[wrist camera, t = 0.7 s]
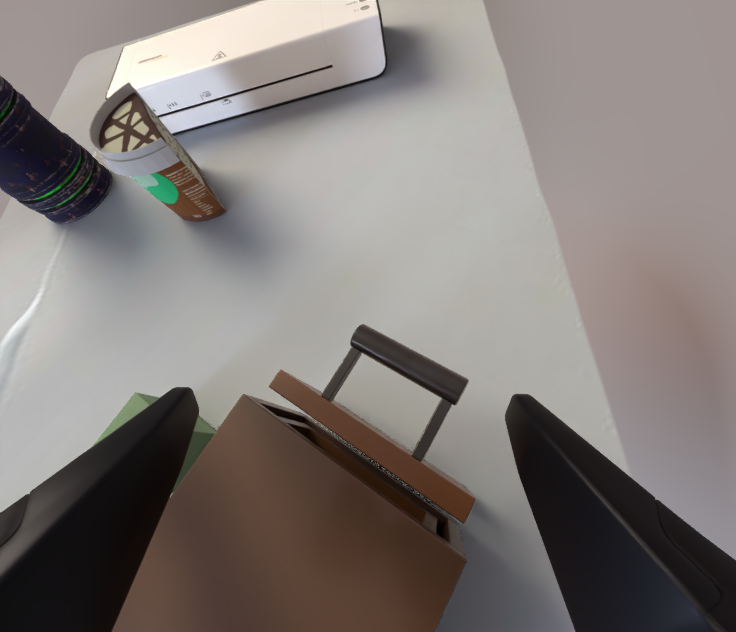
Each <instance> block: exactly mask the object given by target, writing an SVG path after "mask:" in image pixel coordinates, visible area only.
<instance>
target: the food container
mask: <svg viewBox="0 0 736 632" xmlns="http://www.w3.org/2000/svg"><path fill="white" fill-rule="evenodd" d="M89 137H90V141H91V143H92V145H93V146H94V149H95V151H96V152H97V154H98V155H99V157H100V158H101V159H102V160H103V162H104V163H105V164H106V165H107V167H108V168H109V169H110V170H111V171H112V172H114V173H116V174H118V175H122V176H128V177H131V178H132V179H134V180H135V181H136V182H137V183H139V184H140V185H141V186H142V187H144V188H145V189H146V190H147V191H149V192H150V193H151V194H152V195H154V196H155V197H156V198H158V199H159V200H160V201H161V202H163V203H164V204H165V205H166V206H168V207H169V208H170V209H171V210H173V211H174V212H175V213H176V214H178V215H179V216H180V217H181V218H183V219H185V220H188V221H194V222H199V221H206V220H210V219H213V218H215V217H217V216H219V215H221V214H223V213H225V212H226V209H225V208H224V206H223V205H222V203H221V201H220V200H219V198H218V197H217V195H216V193H215V192H214V190H213V189H212V187H211V185H210V184H209V182H208V181H207V179H206V178H205V176H204V174H203V173H202V171H201V170H200V168H199V167H198V165H197V164H196V163H195V162H194V161H193V159H192V158H191V157H190V156H189V154H188V153H187V152H186V151H185V150H184V148H183V147H182V146H181V145H180V144H179V142H178V141H177V140H176V139H175V137H174V136H173V135H172V134H171V133H170V131H169V130H168V129H167V128H166V127H165V125H164V124H163V123H162V122H161V120H160V119H159V118H158V117H157V116H156V114H155V113H154V112H153V111H152V109H151V108H150V107H149V106H148V105H147V103H146V102H145V100H144V99H143V98H142V97H141V95H140V94H139V93H138V92H137V91H136V90H135V88H133V86H132V85H131V84H130V83H129V82H128V83H127V84H125V85H123V86H122V87H121V88H119V89H118V90H117V91H116V92H114V93H113V94H112V95H111V96H110V97H109V98H108V99H107V100H106V101H105V102H104V103H103V104H102V106H101V107H100V108H99V110H98V111H97V113H96V114H95V116H94V118H93V120H92V123H91V126H90V130H89Z"/></svg>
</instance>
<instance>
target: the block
mask: <svg viewBox="0 0 736 632" xmlns="http://www.w3.org/2000/svg"><path fill="white" fill-rule="evenodd" d="M158 399H159V398H158V397H154V396H149V395H144V394H140V393H135V394H134V395H133V396H132V397H131V399H130V400H129V401H128V402H127V404H126V405H125V406H124V407H123V409H122V410H121V411H120V412H119V414H118V415H117V416H116V418H115V419H114V420H113V421H112V423H111V424H110V425H109V426H108V428H107V429H106V430H105V431H104V433H103V434H102V435H101V437H100V438H99V439H98V440H97V442H96V443H95V444H94V445H96V444H97V443H98V442H100V441H101V440H102V439H104V438H105V437H107V436H108V435H109V434H111V433H112V432H113V431H115V430H116V429H118V428H119V427H120V426H122V425H123V424H125V423H126V422H127V421H129V420H130V419H131V418H133V417H134V416H136V415H137V414H138V413H140V412H141V411H143V410H144V409H145V408H147V407H148V406H149V405H151V404H152V403H154V402H155V401H156V400H158ZM216 432H217V431H216V430H214V429H213V428H212V427H211V426H210V425H208V424H207V423H206V422H205V421H204V420H202V419H201V418H200V417H199V416H198V418H197V422H196V425H195V428H194V431H193V435H192V438H191V441H190V444H189V448H188V451H187V454H186V457H185V461H184V463H183V466H182V469H181V472H180V474H179V477H178V479H177V481H176V484H175V486H174V488H173V491H172V492H174V491H175V490H176V488H177V487H178V486H179V484H180V483H181V481H182V480H183V478H184V477H185V476H186V474H187V473H188V471H189V470H190V469H191V467H192V466H193V464H194V463H195V461H196V460H197V459H198V457H199V456H200V454H201V453H202V451H203V450H204V449H205V447H206V446H207V444H208V443H209V442H210V440H211V439H212V437H213V436H214V434H215V433H216ZM94 445H93V446H94Z"/></svg>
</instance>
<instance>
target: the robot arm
mask: <svg viewBox="0 0 736 632" xmlns="http://www.w3.org/2000/svg"><path fill="white" fill-rule="evenodd" d="M198 415H199V407H198V404H197V401H196V398H195V395H194V393H193V390H192V389H191V388H189V387H176V388H173V389H172V390H170V391H169V392H167V393H166V394H165V395H163V396H162V397H160V398H159V399H158V400H156V401H155V402H154V403H152V404H151V405H149V406H148V407H147V408H145V409H144V410H143V411H141V412H140V413H138V414H137V415H136V416H134V417H133V418H131V419H130V420H129V421H127V422H126V423H125V424H123V425H122V426H120V427H119V428H118V429H116V430H115V431H113V432H112V433H111V434H109V435H108V436H107V437H105V438H104V439H102V440H101V441H100V442H98V443H97V444H96V445H94V446H93V447H91V448H90V449H89V450H87V451H86V452H84V453H83V454H82V455H80V456H79V457H78V458H76V459H75V460H73V461H72V462H71V463H69V464H68V465H67V466H65V467H64V468H62V469H61V470H60V471H58V472H57V473H55V474H54V475H53V476H51V477H50V478H49V479H47V480H46V481H44V482H43V483H42V484H40V485H39V486H37V487H36V488H35V489H33V490H32V491H31V492H30V494H27V495H25V496H23V497H22V498H21V499H19V500H18V501H17V502H15V503H14V504H12V505H11V506H10V507H8V508H7V509H5V510H4V511H3V512H1V513H0V632H112V630H113V628H114V625H115V623H116V621H117V618H118V616H119V614H120V611H121V609H122V607H123V604H124V602H125V600H126V597H127V595H128V593H129V591H130V588H131V586H132V584H133V581H134V579H135V577H136V574H137V572H138V570H139V567H140V565H141V563H142V560H143V558H144V556H145V553H146V551H147V549H148V546H149V544H150V542H151V539H152V537H153V535H154V533H155V530H156V528H157V526H158V523H159V521H160V519H161V516H162V514H163V512H164V509H165V507H166V505H167V502H168V500H169V498H170V495H171V493H172V491H173V488H174V486H175V484H176V481H177V479H178V477H179V474H180V472H181V469H182V466H183V463H184V461H185V457H186V454H187V451H188V448H189V444H190V441H191V438H192V435H193V431H194V428H195V425H196V422H197V418H198ZM505 421H506V425H507V429H508V433H509V437H510V441H511V445H512V450H513V454H514V458H515V462H516V466H517V469H518V473H519V476H520V479H521V482H522V485H523V487H524V490H525V493H526V496H527V499H528V501H529V504H530V507H531V510H532V512H533V515H534V518H535V521H536V523H537V526H538V529H539V532H540V535H541V537H542V540H543V543H544V546H545V548H546V551H547V554H548V557H549V559H550V562H551V565H552V568H553V571H554V573H555V576H556V579H557V582H558V584H559V587H560V590H561V593H562V595H563V598H564V601H565V604H566V607H567V609H568V612H569V615H570V618H571V620H572V623H573V626H574V629H575V632H736V560H734V559H733V558H732V557H730V556H729V555H728V554H726V553H725V552H724V551H722V550H721V549H720V548H718V547H717V546H716V545H714V544H713V543H712V542H710V541H709V540H708V539H706V538H705V537H704V536H702V535H701V534H700V533H699V532H697V531H696V530H695V529H694V528H692V527H691V526H690V525H688V524H687V523H686V522H685V521H683V520H682V519H681V518H680V517H678V516H677V515H676V514H675V513H673V512H672V511H671V510H670V509H669V508H667V507H666V506H665V505H664V504H662V503H661V502H660V501H659V500H655V497H653V495H651V494H650V493H649V492H648V491H646V490H645V489H644V488H643V487H642V486H640V485H639V484H638V483H637V482H636V481H634V480H633V479H632V478H631V477H629V476H628V475H627V474H626V473H625V472H623V471H622V470H621V469H620V468H618V467H617V466H616V465H615V464H614V463H612V462H611V461H610V460H609V459H607V458H606V457H605V456H604V455H603V454H601V453H600V452H599V451H598V450H596V449H595V448H594V447H593V446H592V445H590V444H589V443H588V442H587V441H586V440H584V439H583V438H582V437H581V436H579V435H578V434H577V433H576V432H575V431H573V430H572V429H571V428H570V427H568V426H567V425H566V424H565V423H564V422H562V421H561V420H560V419H559V418H557V417H556V416H555V415H554V414H553V413H551V412H550V411H549V410H548V409H546V408H545V407H544V406H543V405H542V404H540V403H539V402H538V401H537V400H535V399H534V398H533V397H532V396H530V395H528V394H515V395H513V396H512V398H511V401H510V403H509V406H508V408H507V411H506V414H505Z"/></svg>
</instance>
